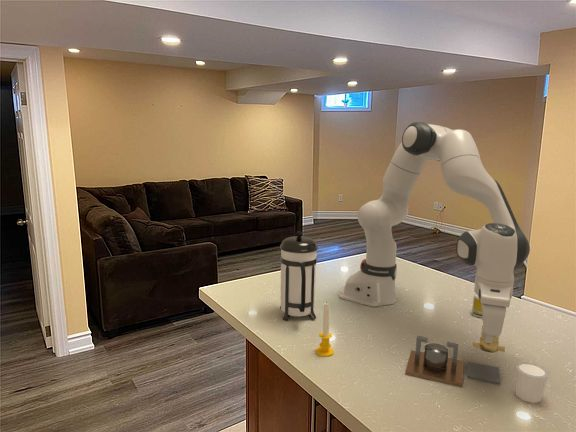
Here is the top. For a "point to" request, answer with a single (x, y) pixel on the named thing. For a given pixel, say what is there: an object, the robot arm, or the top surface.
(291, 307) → the coffee press
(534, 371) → the white cylinder
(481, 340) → the cap
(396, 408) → the top surface
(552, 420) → the top surface
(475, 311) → the supplement bottle
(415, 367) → the drum on wooden base
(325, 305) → the candle
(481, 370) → the mat
